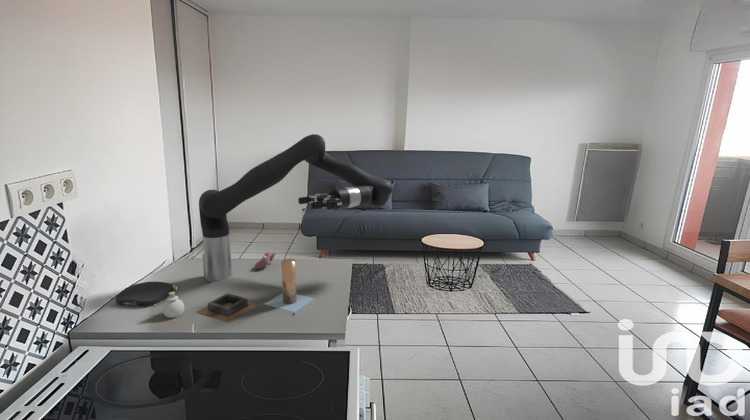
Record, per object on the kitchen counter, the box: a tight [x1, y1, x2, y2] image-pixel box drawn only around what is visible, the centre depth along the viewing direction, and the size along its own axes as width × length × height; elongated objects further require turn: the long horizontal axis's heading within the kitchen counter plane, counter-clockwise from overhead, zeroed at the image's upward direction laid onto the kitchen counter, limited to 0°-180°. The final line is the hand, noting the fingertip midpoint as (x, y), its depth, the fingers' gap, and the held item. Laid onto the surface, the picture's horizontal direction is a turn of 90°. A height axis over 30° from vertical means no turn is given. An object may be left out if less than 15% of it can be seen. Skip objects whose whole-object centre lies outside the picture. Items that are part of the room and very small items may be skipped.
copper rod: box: [281, 258, 297, 304], centre depth 141 cm, size 4×4×14 cm
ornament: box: [162, 286, 185, 319], centre depth 132 cm, size 6×7×10 cm
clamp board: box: [196, 292, 260, 323], centre depth 137 cm, size 14×13×4 cm
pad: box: [264, 292, 315, 316], centre depth 142 cm, size 12×11×1 cm
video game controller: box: [254, 250, 277, 270], centre depth 175 cm, size 10×5×7 cm, turn 171°
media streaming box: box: [115, 281, 175, 307], centre depth 146 cm, size 15×15×3 cm
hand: (305, 203), depth 145 cm, fingers open, 8 cm apart
